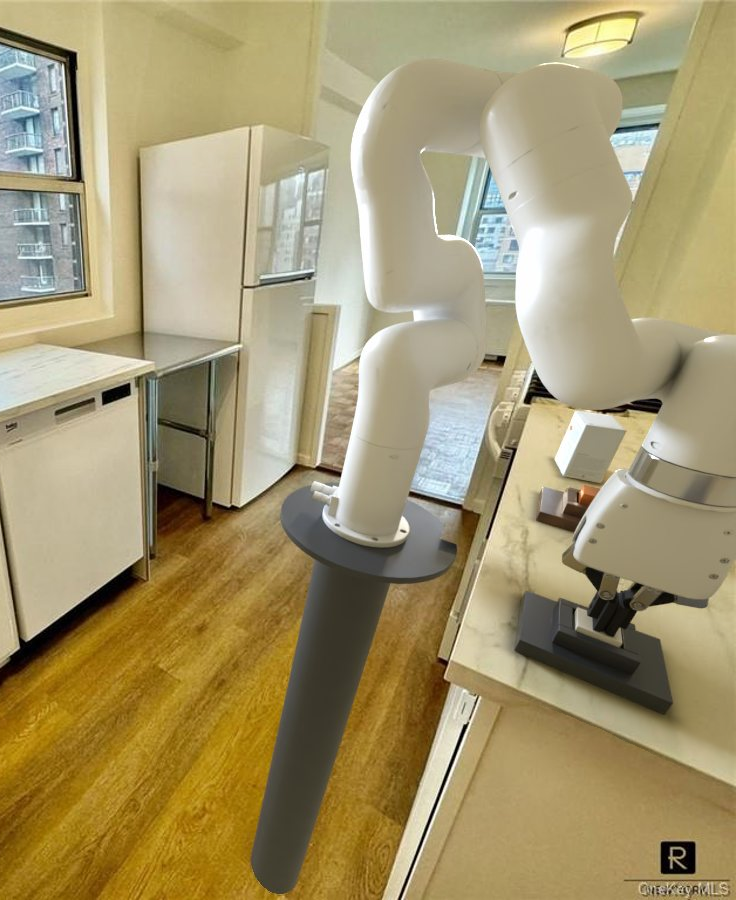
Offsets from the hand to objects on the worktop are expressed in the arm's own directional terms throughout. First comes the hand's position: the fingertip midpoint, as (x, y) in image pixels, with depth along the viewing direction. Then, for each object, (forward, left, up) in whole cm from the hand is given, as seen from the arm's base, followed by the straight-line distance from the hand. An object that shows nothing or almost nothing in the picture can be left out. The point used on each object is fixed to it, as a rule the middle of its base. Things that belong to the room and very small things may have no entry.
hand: (602, 625), depth 52 cm
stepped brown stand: (0, +33, -4) cm, 33 cm away
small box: (-1, +53, -4) cm, 53 cm away
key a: (0, 0, -2) cm, 2 cm away
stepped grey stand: (0, 0, -4) cm, 4 cm away
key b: (0, +33, -1) cm, 33 cm away
